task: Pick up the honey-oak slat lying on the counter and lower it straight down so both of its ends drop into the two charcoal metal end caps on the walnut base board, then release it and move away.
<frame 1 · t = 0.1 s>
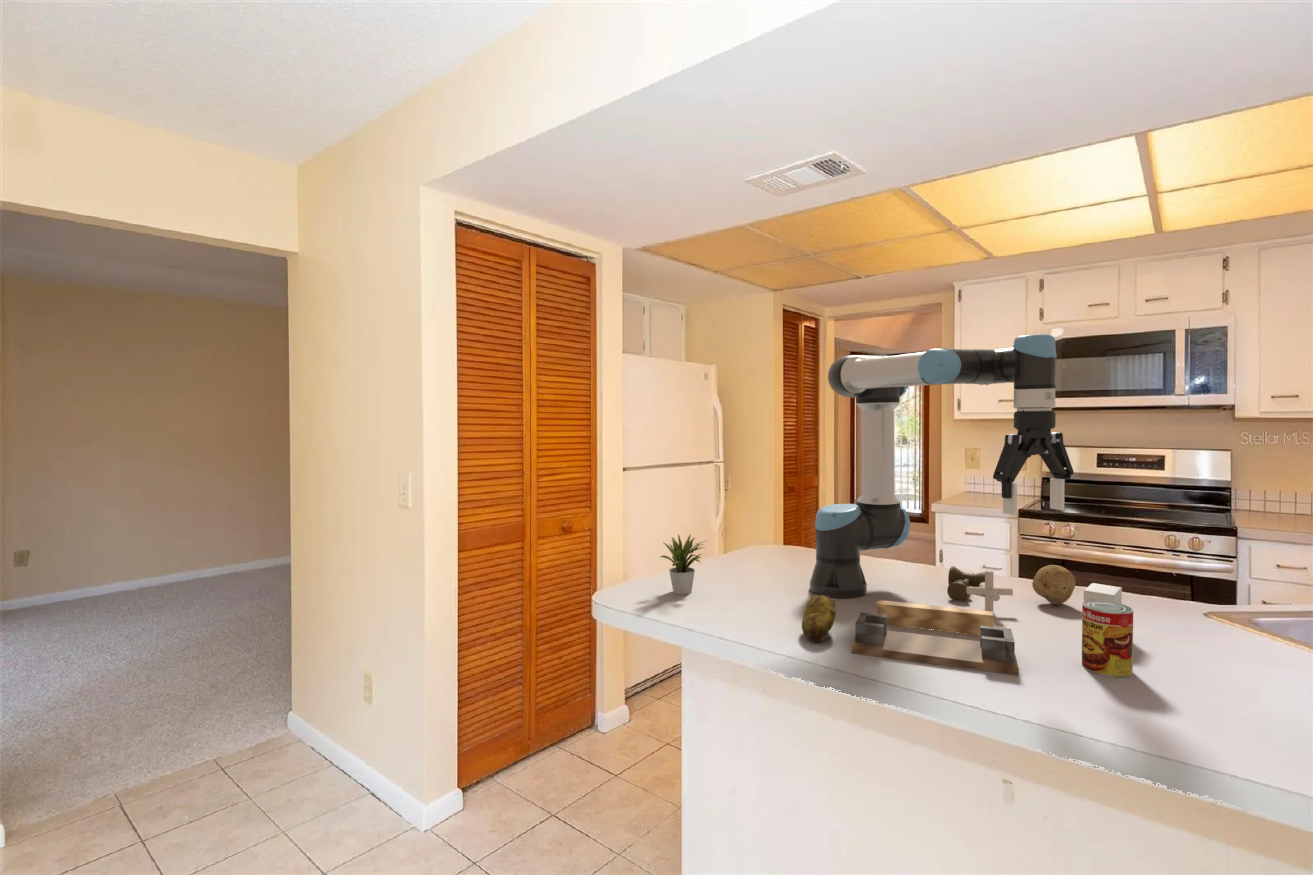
hand: (1033, 511, 134), 28 cm above the countertop, tool pointing down, fingers open, 13 cm apart
oak slat: (933, 629, 145), on the countertop
pipe connector: (989, 612, 156), on the countertop
small box: (1102, 637, 138), on the countertop
kendama: (965, 593, 172), on the countertop
canned food: (1106, 669, 121), on the countertop
end cap board: (931, 652, 131), on the countertop
natural sponge: (1053, 605, 160), on the countertop
potato: (818, 635, 142), on the countertop
house plant: (683, 594, 177), on the countertop
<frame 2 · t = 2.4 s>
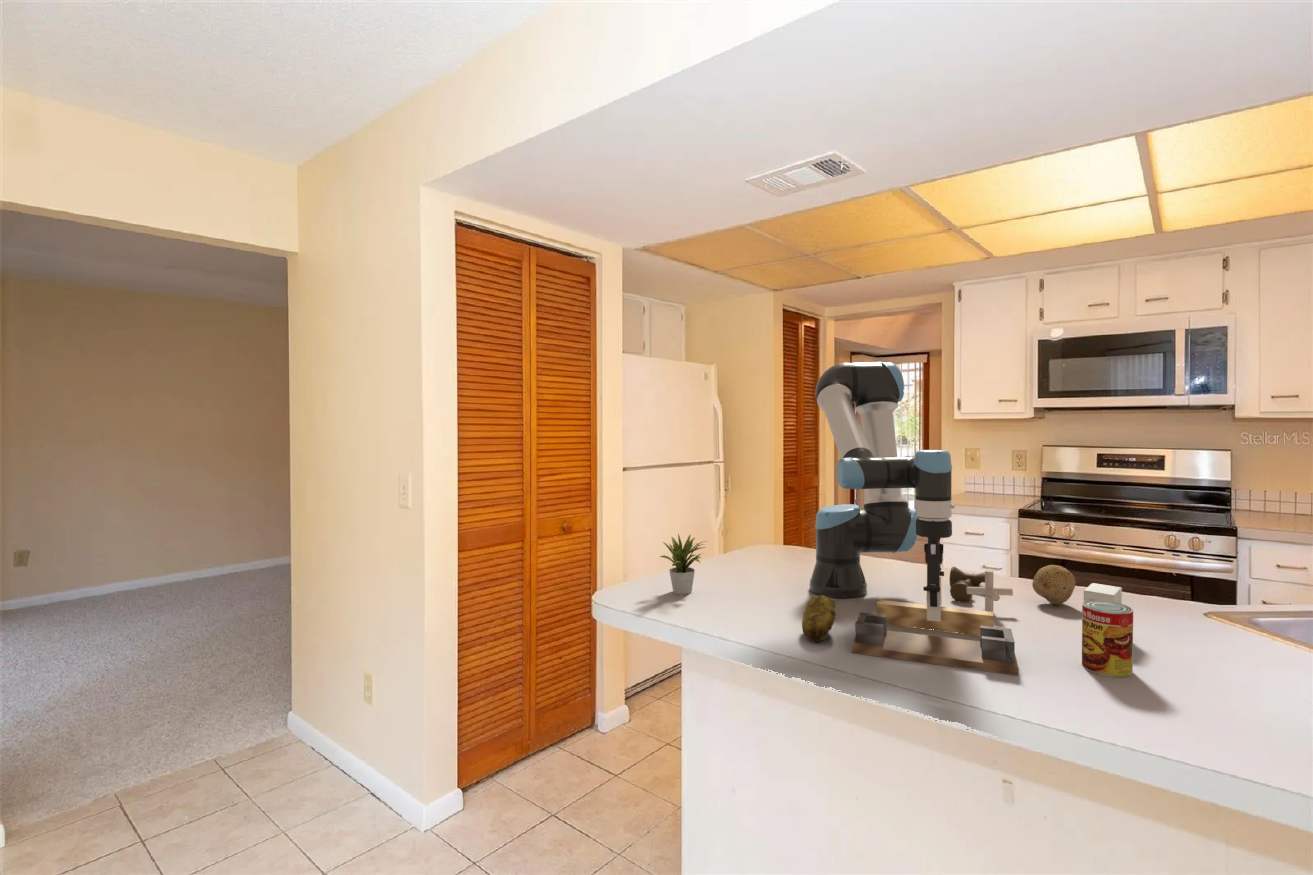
hand: (934, 612, 144), 4 cm above the countertop, tool pointing down, fingers open, 13 cm apart
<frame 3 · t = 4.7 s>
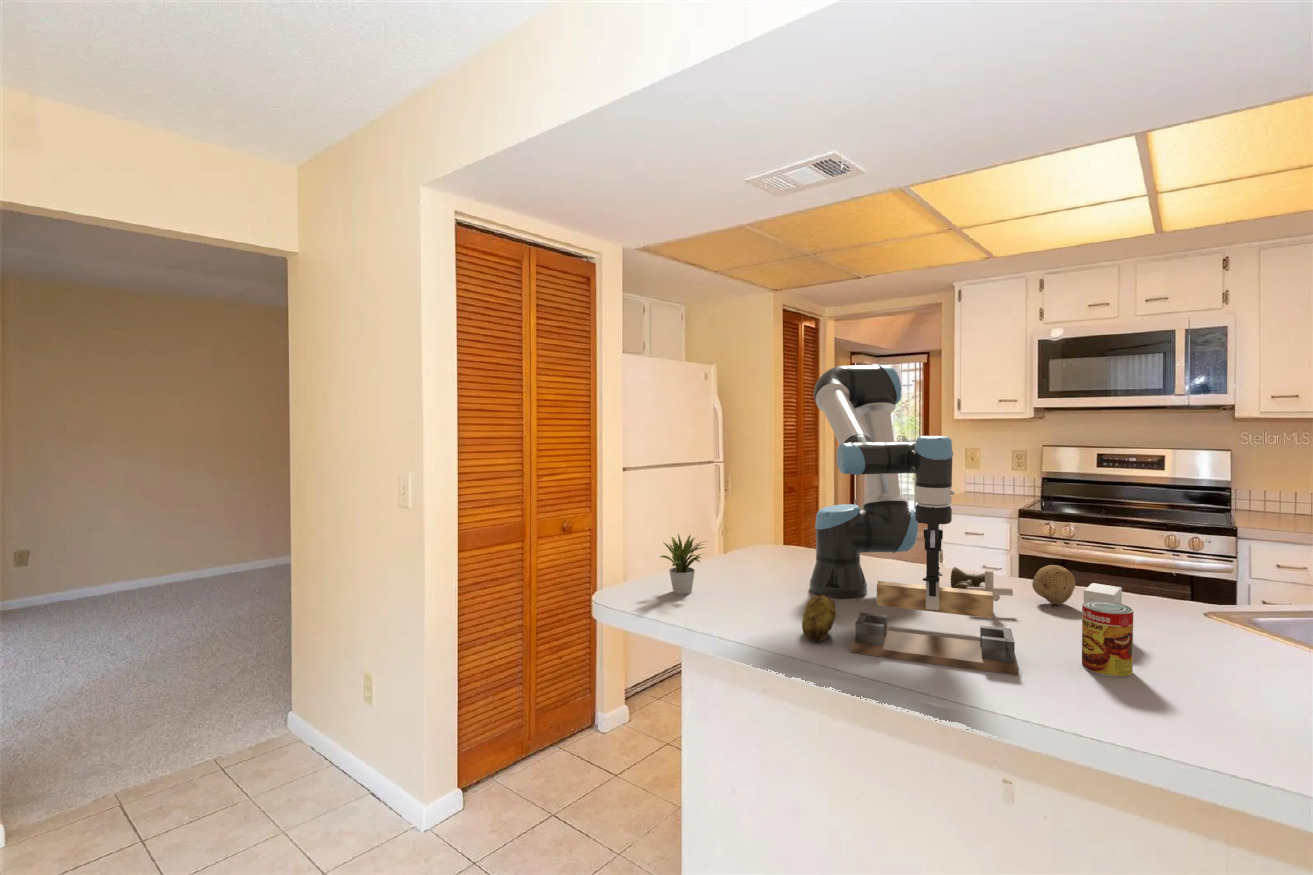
hand: (932, 606, 145), 5 cm above the countertop, tool pointing down, fingers closed on oak slat, 3 cm apart
oak slat: (932, 609, 145), point 4 cm above the countertop, touching gripper
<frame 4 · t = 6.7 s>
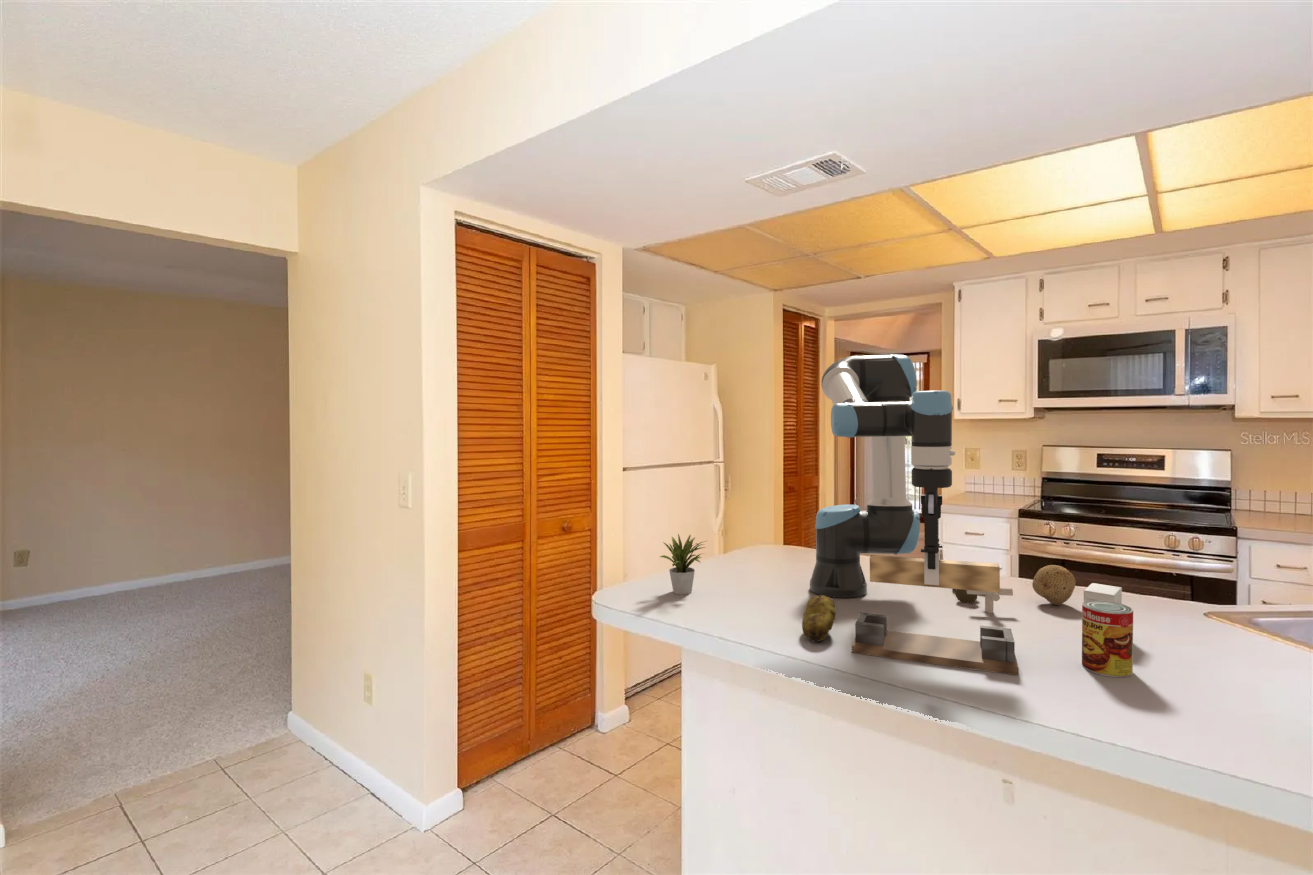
hand: (931, 581, 130), 15 cm above the countertop, tool pointing down, fingers closed on oak slat, 3 cm apart
oak slat: (932, 585, 130), point 14 cm above the countertop, touching gripper
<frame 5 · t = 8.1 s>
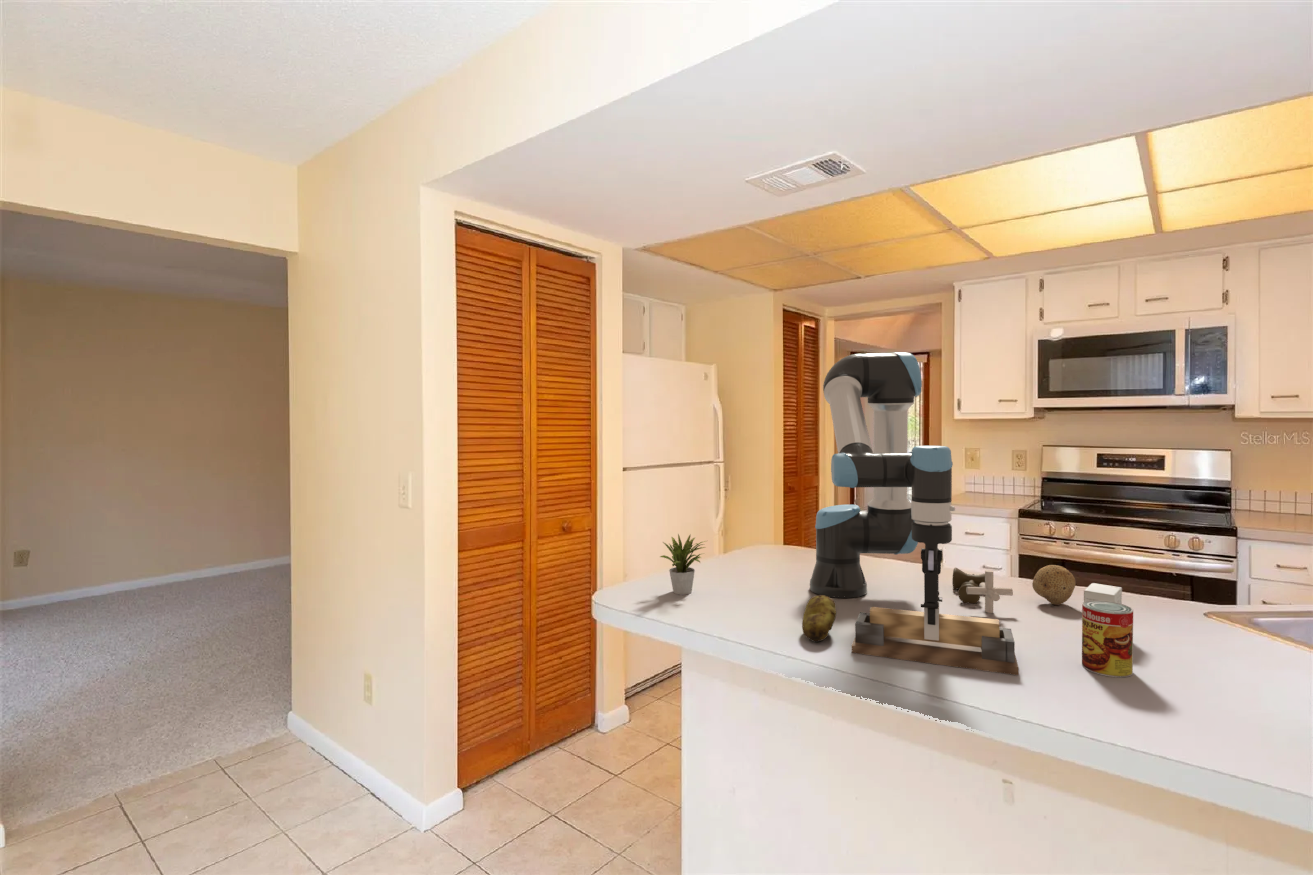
hand: (931, 636, 130), 3 cm above the countertop, tool pointing down, fingers closed on oak slat, 3 cm apart
oak slat: (932, 639, 130), point 3 cm above the countertop, touching gripper
when the fingers open (2 cm above the countertop, at t = 8.6 s): oak slat stays where it is, resting on end cap board.
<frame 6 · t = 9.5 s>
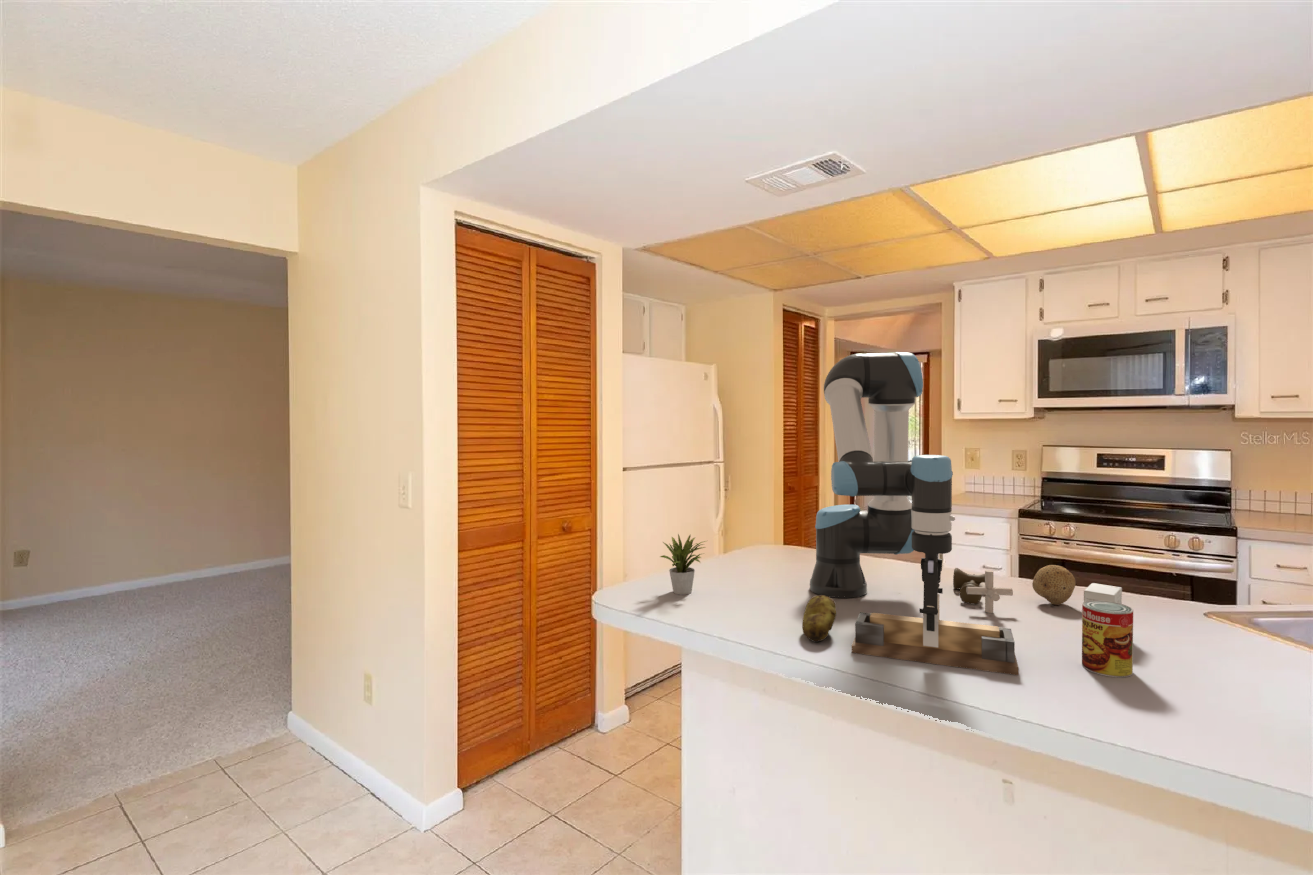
hand: (931, 634, 130), 4 cm above the countertop, tool pointing down, fingers open, 13 cm apart
oak slat: (932, 645, 130), point 1 cm above the countertop, touching end cap board
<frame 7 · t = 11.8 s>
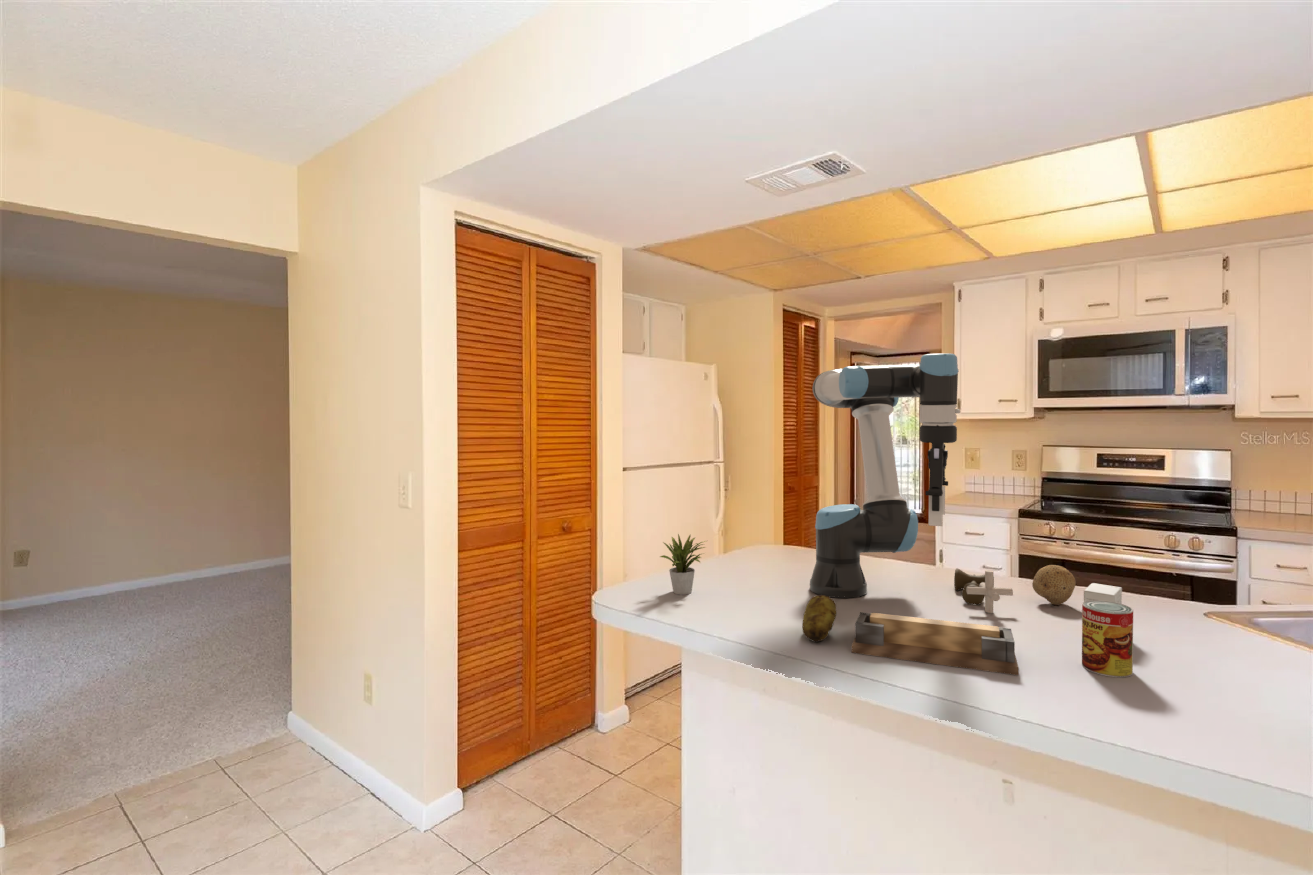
hand: (937, 519, 142), 25 cm above the countertop, tool pointing down, fingers open, 13 cm apart
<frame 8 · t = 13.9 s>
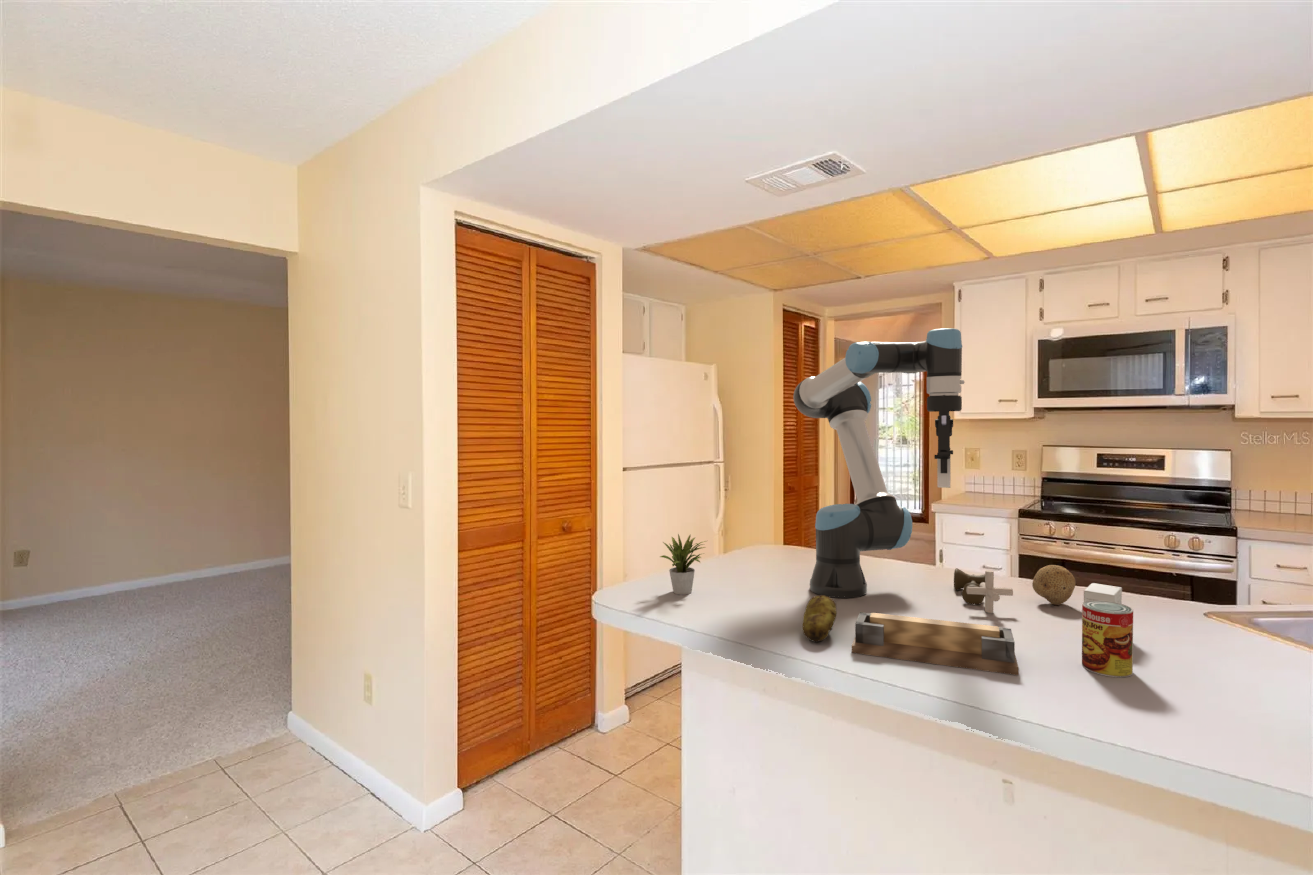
hand: (944, 484, 152), 32 cm above the countertop, tool pointing down, fingers open, 13 cm apart
at the end: oak slat 0.2 cm off-centre on the end cap board, point 1.5 cm above the end cap board's base; oak slat tilted 0°; the gripper is holding nothing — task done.
